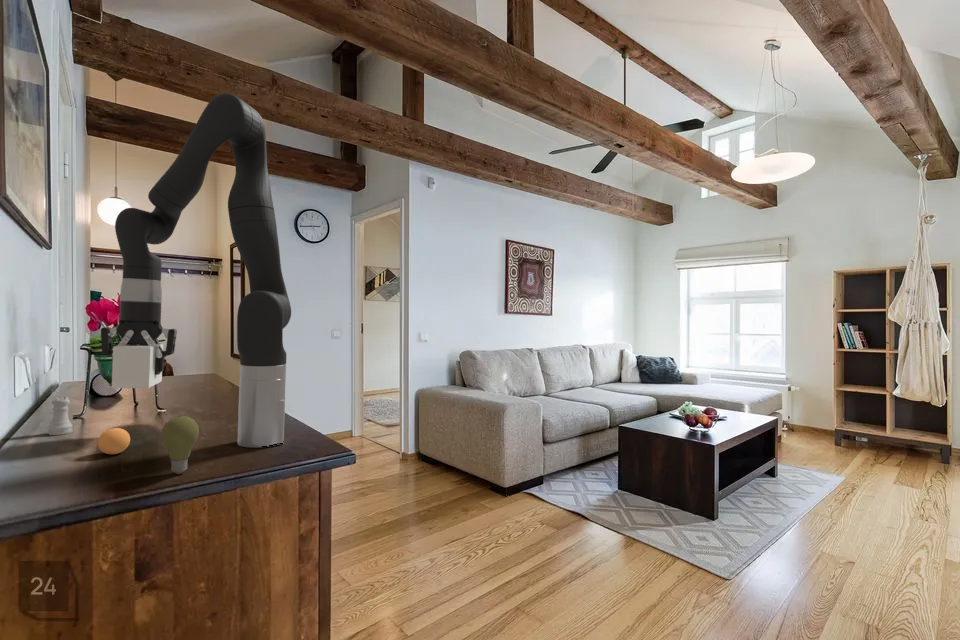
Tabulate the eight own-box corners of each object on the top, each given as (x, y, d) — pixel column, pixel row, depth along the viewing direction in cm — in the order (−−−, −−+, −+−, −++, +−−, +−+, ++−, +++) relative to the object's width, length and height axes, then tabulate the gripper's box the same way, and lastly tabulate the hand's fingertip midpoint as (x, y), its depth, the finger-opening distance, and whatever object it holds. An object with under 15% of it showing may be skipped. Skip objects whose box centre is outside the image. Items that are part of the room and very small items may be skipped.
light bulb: (174, 467, 85) (176, 412, 85) (204, 469, 85) (206, 413, 85) (151, 477, 80) (153, 418, 80) (184, 479, 80) (186, 420, 80)
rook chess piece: (57, 436, 103) (58, 399, 103) (40, 434, 104) (42, 398, 104) (78, 431, 108) (79, 396, 108) (62, 430, 108) (63, 395, 108)
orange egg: (133, 449, 95) (134, 424, 95) (125, 456, 91) (125, 430, 91) (103, 451, 94) (103, 426, 94) (93, 458, 89) (94, 432, 89)
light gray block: (161, 381, 112) (163, 344, 112) (148, 387, 102) (150, 347, 102) (128, 381, 109) (129, 343, 109) (111, 388, 99) (113, 346, 99)
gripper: (182, 302, 112) (179, 372, 112) (108, 299, 106) (105, 372, 106) (175, 301, 105) (172, 376, 105) (95, 298, 99) (92, 376, 99)
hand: (138, 374), depth 106 cm, fingers closed on light gray block, 6 cm apart
